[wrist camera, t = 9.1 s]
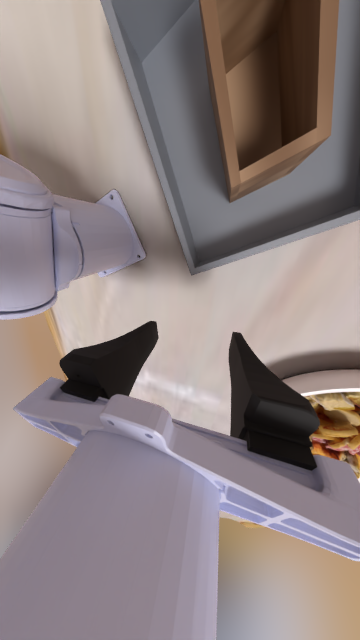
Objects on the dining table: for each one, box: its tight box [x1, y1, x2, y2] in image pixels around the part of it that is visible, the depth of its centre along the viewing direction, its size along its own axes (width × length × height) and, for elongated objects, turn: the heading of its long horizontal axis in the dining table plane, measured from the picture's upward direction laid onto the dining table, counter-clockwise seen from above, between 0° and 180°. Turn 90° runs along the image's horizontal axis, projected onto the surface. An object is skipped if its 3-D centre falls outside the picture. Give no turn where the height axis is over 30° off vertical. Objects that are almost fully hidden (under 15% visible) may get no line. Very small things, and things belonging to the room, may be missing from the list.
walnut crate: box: [199, 0, 339, 203], centre depth 9 cm, size 5×8×6 cm, turn 22°
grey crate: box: [100, 0, 360, 275], centre depth 11 cm, size 15×17×4 cm
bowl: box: [282, 370, 360, 483], centre depth 23 cm, size 30×30×8 cm
